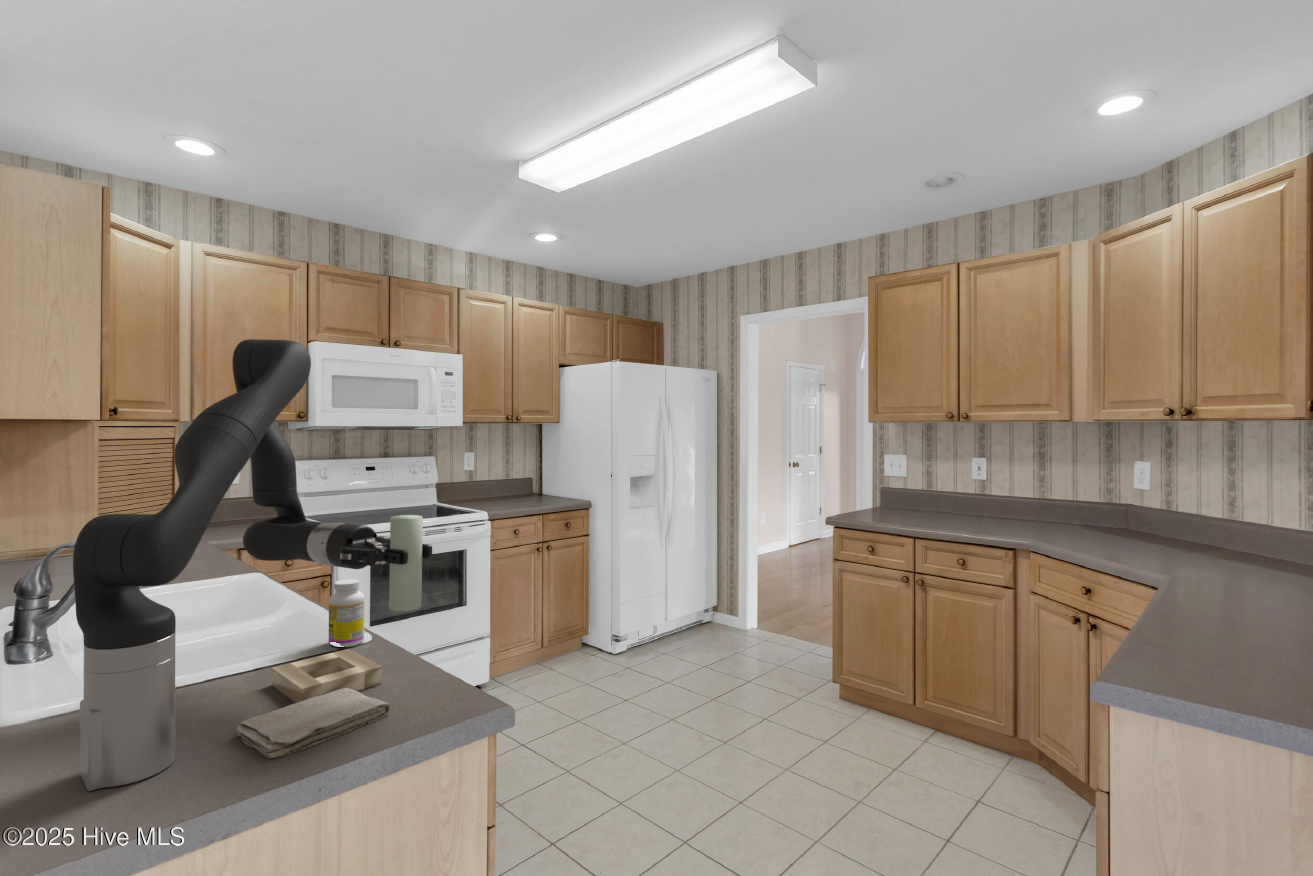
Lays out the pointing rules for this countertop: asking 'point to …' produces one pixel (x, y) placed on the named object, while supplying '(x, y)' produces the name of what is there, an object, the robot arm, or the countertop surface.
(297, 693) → the pocket block
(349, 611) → the supplement bottle
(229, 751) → the countertop surface
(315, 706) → the washcloth
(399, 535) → the green cylinder
